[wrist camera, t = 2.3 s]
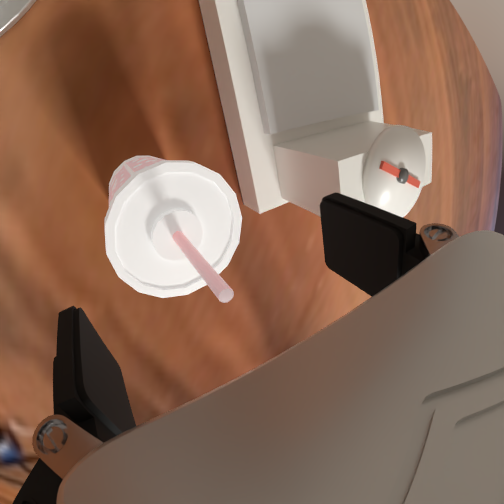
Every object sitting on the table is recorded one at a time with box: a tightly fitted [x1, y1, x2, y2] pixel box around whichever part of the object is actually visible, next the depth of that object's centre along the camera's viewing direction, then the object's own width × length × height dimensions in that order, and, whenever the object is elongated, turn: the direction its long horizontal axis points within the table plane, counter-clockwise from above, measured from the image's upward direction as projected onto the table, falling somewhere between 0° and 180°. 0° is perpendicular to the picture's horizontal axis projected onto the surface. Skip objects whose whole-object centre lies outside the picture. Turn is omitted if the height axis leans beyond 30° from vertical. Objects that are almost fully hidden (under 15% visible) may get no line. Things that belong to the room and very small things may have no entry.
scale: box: [199, 0, 432, 218], centre depth 18 cm, size 19×14×10 cm
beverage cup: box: [105, 156, 242, 303], centre depth 14 cm, size 6×6×14 cm
